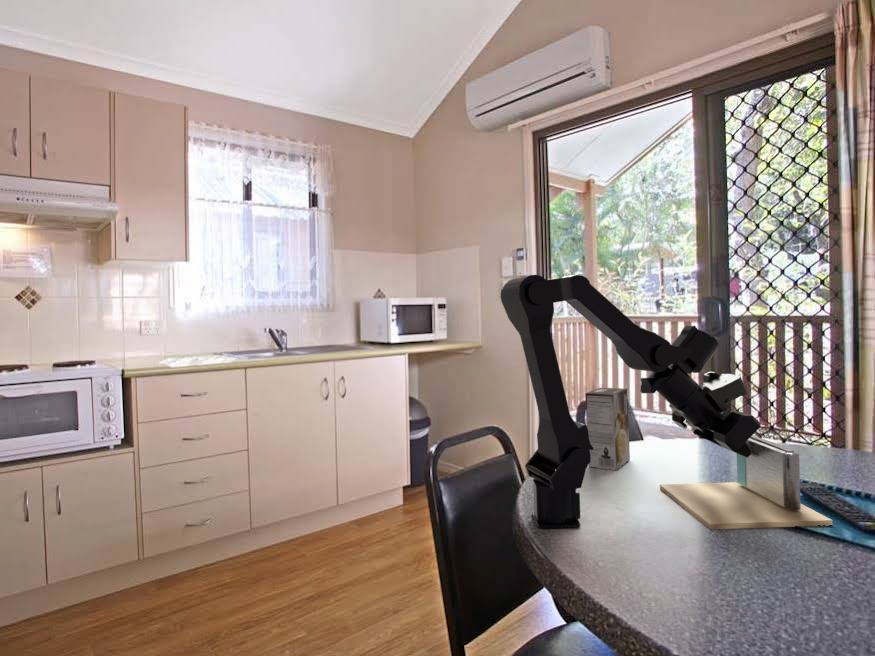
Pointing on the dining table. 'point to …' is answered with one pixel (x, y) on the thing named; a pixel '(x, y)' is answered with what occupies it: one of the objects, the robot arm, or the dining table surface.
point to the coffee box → (608, 427)
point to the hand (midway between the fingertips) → (745, 453)
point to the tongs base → (739, 505)
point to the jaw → (771, 474)
